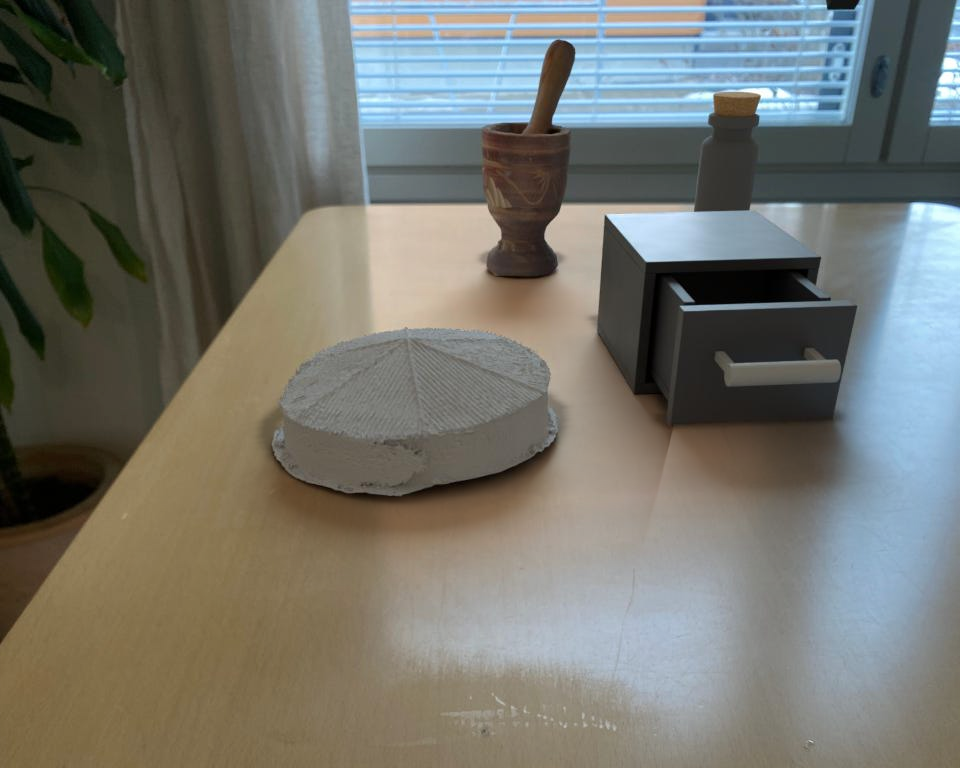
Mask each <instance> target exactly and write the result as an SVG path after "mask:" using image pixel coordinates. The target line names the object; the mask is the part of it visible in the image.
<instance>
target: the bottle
mask: <svg viewBox="0 0 960 768" xmlns="http://www.w3.org/2000/svg"><path fill="white" fill-rule="evenodd" d="M712 97H713V98H712V99H713V112H711V113H709V115H708V119H707V125H708V126H711V127H712V132H711V135H709V136H708V137H707V138H705V139H704V140H703V141H702V143H701V147H700V156H699V162H698V172H697V179H696V187H695V188H696V189H695V196H694V205H693V212H709V211H748V210H751V204H752V197H753V190H754V184H755V177H756V170H757V162H758V157H759V156H758V155H759V148H760V147H759V146H760V144H759V142H758V141H757V140H756V139H755V138H754V137H753V136H752V132H753V128H756V127H758V126H759V125H760V120H761V119H760V117H761V116H760V114H758V113H757V109H758V107H759V103H760V100H761V98H762V95H761V94H759V93H757V92H756V93H755V92H748V91H718V92H714V93H713V95H712Z"/></svg>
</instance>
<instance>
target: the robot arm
mask: <svg viewBox="0 0 960 768" xmlns="http://www.w3.org/2000/svg"><path fill="white" fill-rule="evenodd" d="M860 1H861V0H825V3H826V10H827V11H846V10H847V11H849V10H850V11H854V10H856V8H857V6H858V4H859V3H860Z"/></svg>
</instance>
